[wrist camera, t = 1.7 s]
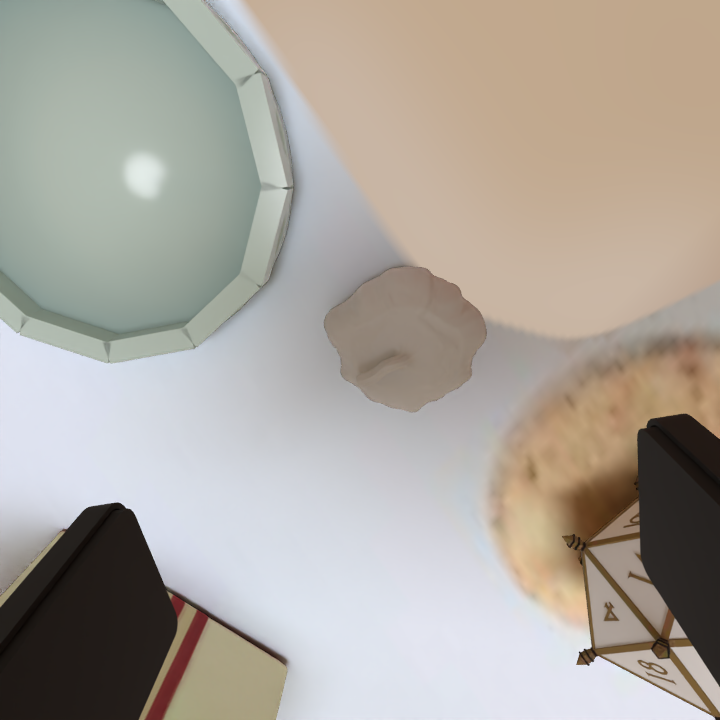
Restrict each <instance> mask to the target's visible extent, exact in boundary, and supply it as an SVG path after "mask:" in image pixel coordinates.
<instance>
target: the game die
mask: <svg viewBox="0 0 720 720" xmlns="http://www.w3.org/2000/svg"><path fill="white" fill-rule="evenodd" d="M634 485H636V486H637V488H636V490H638V491H639V483H638V477H637V480H636V483H634ZM562 537H563V538H564V540H565V541H566V542H567V545H568V547H569V548H571V547H572V548H574V550H577V549H578V550H581V556H582V557H580V558H578V559H579V561H580V563H581V565H582V566H583V574H584V582H585V591H586V600H587V609H588V618H589V626H590V635H591V644H592V647H591V649H587V650H586V649H584V651H583V652H579V653H580V654H579V658H578V661H577V664H576V665H588V666H589V663H591V662H594V659H595V657H596V656H600V657H601V658H603V659H605V660H607V661H609V662H611V663H613V664H615V665H617V666H619V667H620V668H622V669H624V670H626V671H628V672H630V673H632V674H634V675H636V676H638V677H639V678H641V679H643V680H645V681H647V682H649V683H651V684H653V685H655V686H657V687H658V688H660V689H662V690H664V691H666V692H668V693H670V694H672V695H674V696H675V697H677V698H679V699H681V700H683V701H685V702H687V703H689V704H691V705H693V706H694V707H696V708H698V709H700V710H702V711H704V712H706V713H708V714H710V715H712V716H713V717H715V719H716V720H720V687H719V685H718V684H717V682H716V681H715V679H714V678H713V676H712V675H711V673H710V672H709V670H708V668H707V667H706V665H705V664H704V662H703V661H702V659H701V658H700V656H699V655H698V653H697V651H696V650H695V648H694V647H693V645H692V644H691V642H690V641H689V639H688V637H687V636H686V634H685V633H684V631H683V630H682V628H681V627H680V625H679V624H678V622H677V620H676V619H675V617H674V616H673V614H672V613H671V611H670V610H669V608H668V607H667V605H666V603H665V602H664V600H663V599H662V597H661V596H660V594H659V593H658V591H657V590H656V588H655V586H654V585H653V583H652V582H651V580H650V579H649V577H648V575H647V574H646V572H645V569H644V567H643V564H642V560H641V554H640V523H639V497H638V498H637V499H635V500H634V501H633V502H632V503H631V504H630V505H628V506H627V507H626V508H625V509H624V510H622V511H621V512H620V513H619V514H618V515H617V516H615V517H614V518H613V519H612V520H611V521H609V522H608V523H607V524H606V525H605V526H603V527H602V528H601V529H600V530H599V531H598V532H596V533H595V534H594V535H593V536H592V537H590V538H589V539H588V540H587V541H586V542H583V541H582V540H580V537H578V538H577V537H576V536H575V534H573V535H570V536H562Z"/></svg>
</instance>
